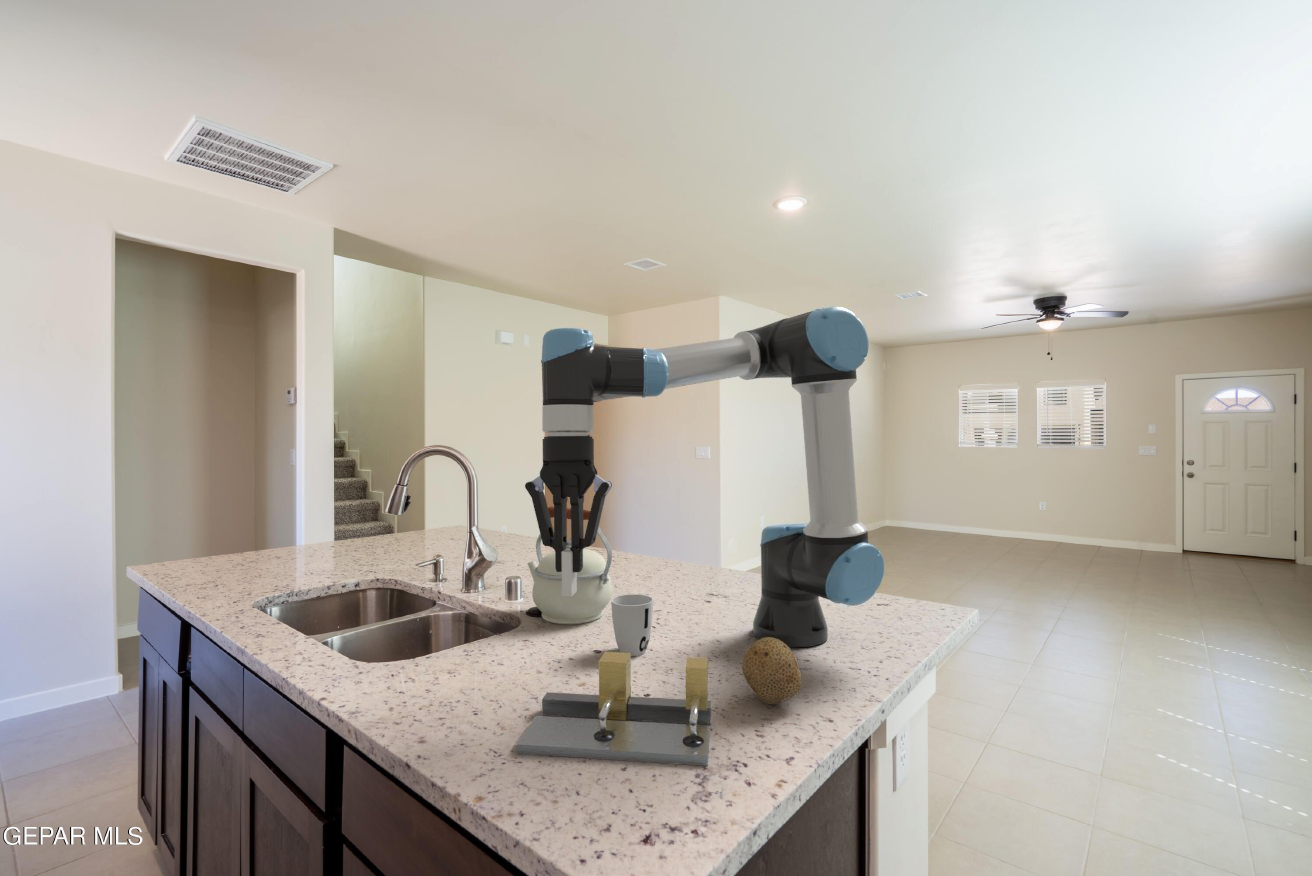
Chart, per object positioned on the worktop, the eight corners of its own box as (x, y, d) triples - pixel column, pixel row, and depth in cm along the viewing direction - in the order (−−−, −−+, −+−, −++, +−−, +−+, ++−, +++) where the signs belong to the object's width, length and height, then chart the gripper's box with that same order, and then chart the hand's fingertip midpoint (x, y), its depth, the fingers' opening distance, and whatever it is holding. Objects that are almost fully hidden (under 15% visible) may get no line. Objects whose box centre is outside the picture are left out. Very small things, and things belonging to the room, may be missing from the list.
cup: (648, 660, 111) (648, 606, 111) (606, 657, 113) (606, 604, 113) (657, 645, 119) (657, 595, 119) (617, 642, 121) (617, 593, 121)
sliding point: (631, 705, 91) (630, 652, 91) (616, 743, 80) (616, 682, 80) (605, 704, 92) (605, 650, 92) (587, 741, 81) (587, 681, 81)
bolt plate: (709, 734, 84) (709, 725, 84) (707, 765, 76) (707, 755, 76) (536, 724, 87) (536, 715, 87) (516, 753, 79) (516, 743, 79)
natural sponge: (738, 688, 98) (738, 628, 98) (793, 689, 98) (793, 628, 98) (745, 714, 89) (744, 647, 89) (805, 715, 89) (805, 648, 89)
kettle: (634, 612, 141) (633, 506, 141) (584, 634, 126) (583, 515, 125) (553, 597, 154) (553, 501, 154) (500, 615, 139) (499, 508, 139)
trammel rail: (711, 714, 89) (711, 658, 89) (708, 753, 79) (708, 689, 79) (548, 705, 93) (548, 651, 93) (524, 741, 82) (523, 680, 82)
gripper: (616, 434, 92) (617, 588, 92) (534, 435, 94) (535, 586, 94) (605, 434, 84) (606, 602, 84) (516, 435, 86) (518, 599, 86)
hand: (569, 593), depth 89 cm, fingers closed
